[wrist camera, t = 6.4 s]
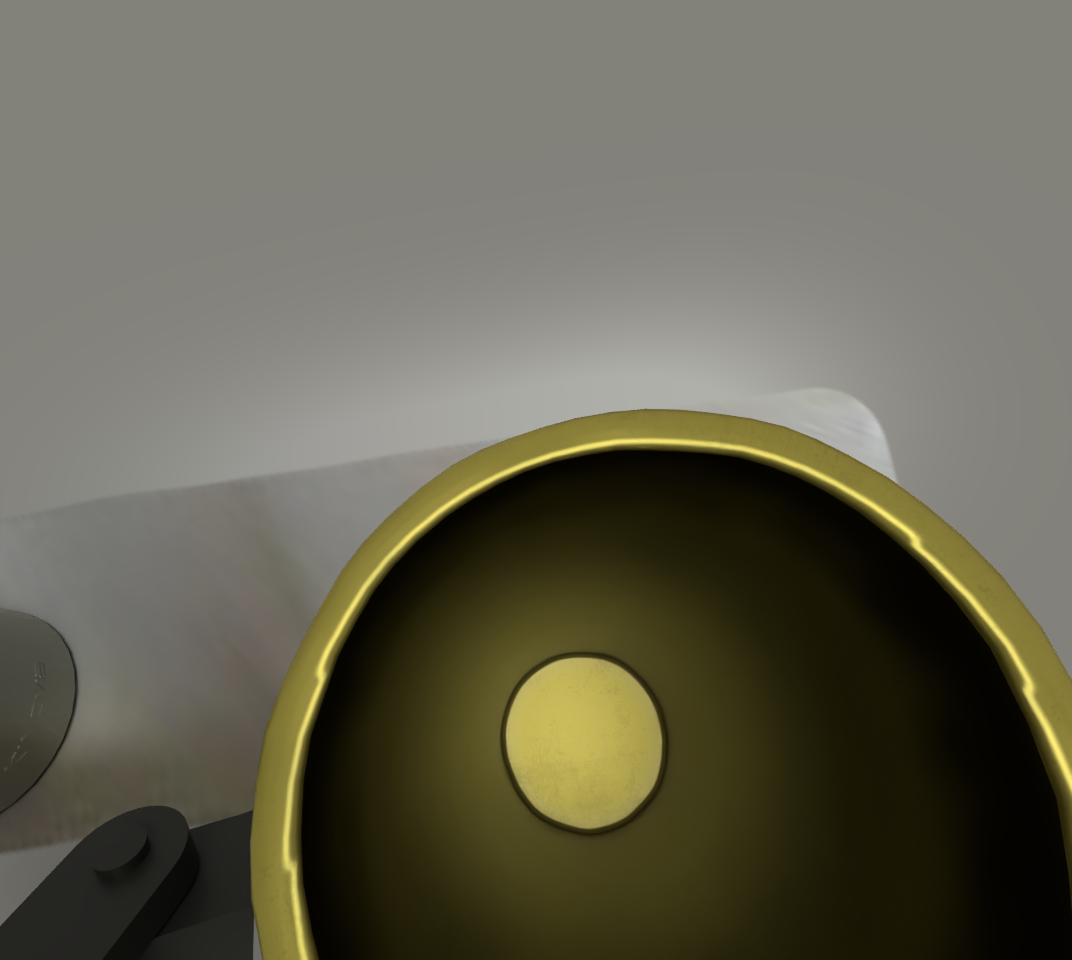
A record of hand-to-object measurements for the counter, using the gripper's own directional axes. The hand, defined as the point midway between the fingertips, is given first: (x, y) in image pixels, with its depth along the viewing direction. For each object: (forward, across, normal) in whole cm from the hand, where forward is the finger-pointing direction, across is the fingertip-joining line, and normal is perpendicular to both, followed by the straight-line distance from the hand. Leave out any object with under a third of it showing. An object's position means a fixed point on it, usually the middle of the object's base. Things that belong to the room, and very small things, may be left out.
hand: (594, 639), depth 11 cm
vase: (+4, 0, +6) cm, 7 cm away
